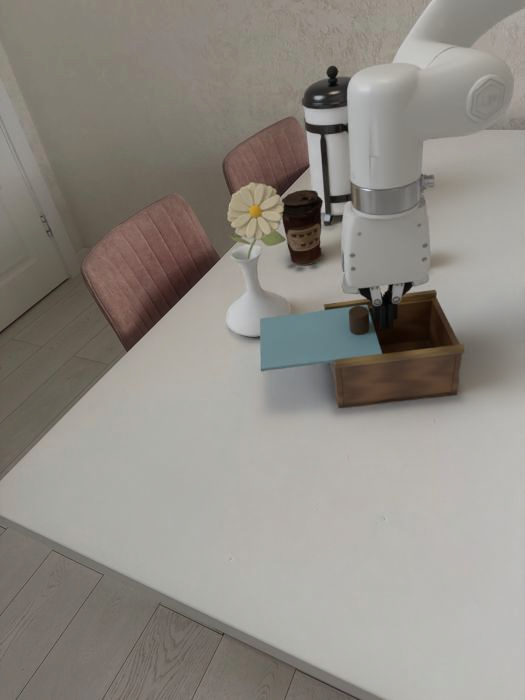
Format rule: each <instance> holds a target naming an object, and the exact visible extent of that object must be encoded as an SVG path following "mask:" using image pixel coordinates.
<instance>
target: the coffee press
mask: <svg viewBox="0 0 525 700" xmlns="http://www.w3.org/2000/svg"><path fill="white" fill-rule="evenodd" d="M325 74H326V76H327V78H323V79H320V80H317V81H315V82H313V83H312V84H310V85H309V86H308V87H307V88H306V90H305V91H304V94H303V97H302V98H301V105H302V107H303V108H304V109H303V110H304V121H303V122H304V129H305V131H306V141H307V149H308V150H307V153H308V163H309V174H310V175H309V176H310V185H311V190H313V191H316V192H317V193H318V196H319V197H320V198H321V199H322V201H323V203H322V208H321V214H323V215H324V218H323V225H325V226H332V223H333V220H334V217H335V216H343V212H344V207H345V204H346V203H347V202H348V201H351V183H350V180H351V179H350V156H349V132H348V108H347V89H348V84H349V81H350V80H351V78H352V77H353V76H351V77H350V76H338V74H339V70H338V67H337V66H336V65H330V66H329V67H327V69H326V72H325Z"/></svg>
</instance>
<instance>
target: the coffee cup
mask: <svg viewBox="0 0 525 700" xmlns="http://www.w3.org/2000/svg"><path fill="white" fill-rule="evenodd" d="M281 202H283V203H284V207H283V208H284V211H283V212H282V214H283V216H282V219H281V221H282V225H283V229H284V234H285V239H286V245H287V249H288V251H289V254H290V261H291V263H293V264H295V265H297V266H298V265H299V266H306V265H311V264H314V263H316V262H318V261H319V260H321V259H322V257H323V253H322V247H321V233H322V213H321V208H322V203H323V201H322V199H321V198H320V197H319V196H318V193H317V192H316V191H313V190H312V189H302V190H296V191H293V192H291V193H288V194H287V195H285V196H284V197H283V198H282V199H281Z"/></svg>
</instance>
